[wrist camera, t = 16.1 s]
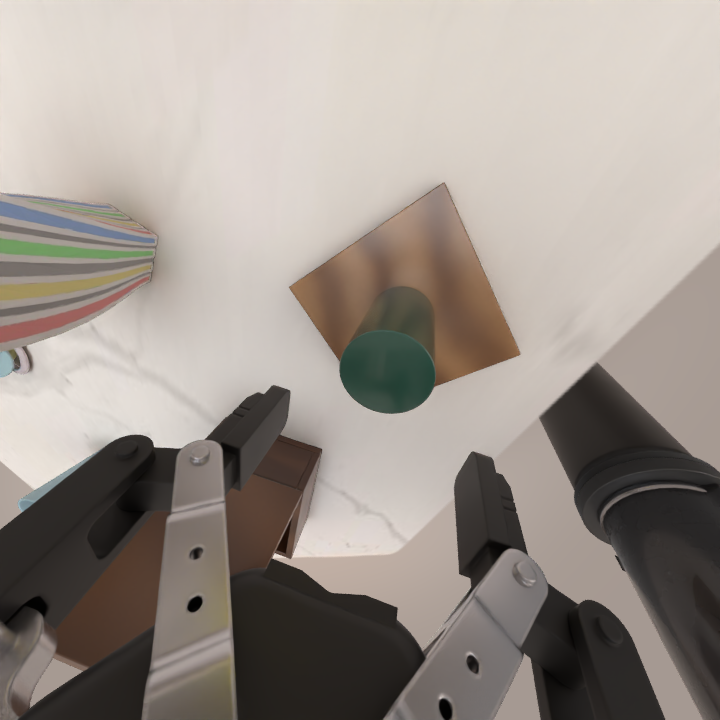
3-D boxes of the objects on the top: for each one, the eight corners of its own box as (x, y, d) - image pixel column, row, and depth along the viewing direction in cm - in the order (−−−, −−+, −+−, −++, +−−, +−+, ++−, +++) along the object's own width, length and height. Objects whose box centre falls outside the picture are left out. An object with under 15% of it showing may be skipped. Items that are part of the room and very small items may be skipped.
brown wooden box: (307, 517, 42) (291, 559, 37) (228, 488, 43) (201, 526, 38) (322, 449, 35) (303, 490, 30) (225, 417, 36) (192, 451, 31)
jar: (415, 273, 22) (406, 312, 14) (446, 332, 23) (453, 396, 16) (356, 306, 24) (321, 355, 16) (388, 357, 26) (369, 424, 18)
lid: (194, 719, 15) (195, 713, 15) (-11, 631, 16) (-13, 624, 16) (301, 496, 29) (302, 491, 29) (189, 457, 31) (189, 452, 30)
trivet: (443, 182, 20) (444, 182, 19) (517, 349, 24) (520, 354, 23) (293, 284, 25) (288, 287, 25) (374, 403, 30) (372, 409, 29)
